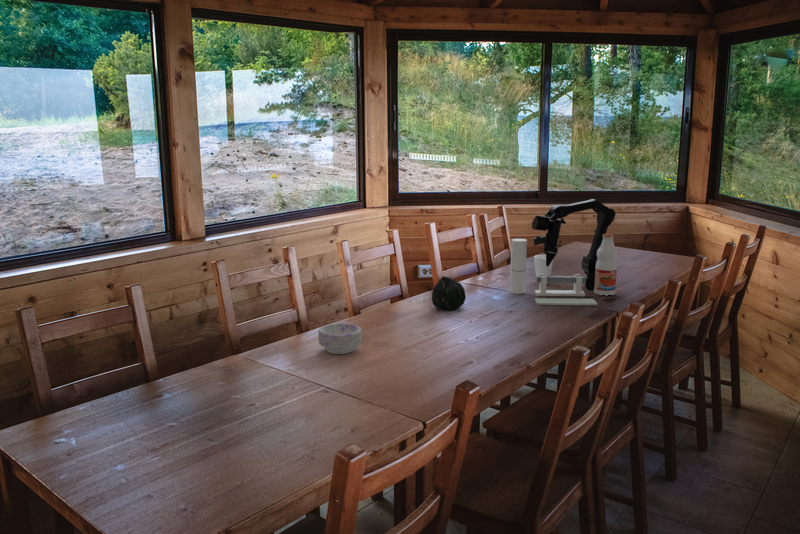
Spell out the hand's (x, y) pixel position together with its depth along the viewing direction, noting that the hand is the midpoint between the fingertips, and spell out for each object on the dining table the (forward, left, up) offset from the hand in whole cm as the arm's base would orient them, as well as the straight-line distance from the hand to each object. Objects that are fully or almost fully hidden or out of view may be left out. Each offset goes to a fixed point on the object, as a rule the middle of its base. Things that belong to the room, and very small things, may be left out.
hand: (547, 264), depth 296 cm
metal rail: (-5, +5, -7) cm, 10 cm away
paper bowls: (+86, +83, -13) cm, 120 cm away
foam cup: (-1, -19, -13) cm, 23 cm away
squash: (+47, +29, -13) cm, 57 cm away
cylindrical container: (+14, +1, -13) cm, 19 cm away
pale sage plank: (-5, +19, -13) cm, 24 cm away
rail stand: (-5, +5, -13) cm, 15 cm away
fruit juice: (-26, +3, -13) cm, 30 cm away
